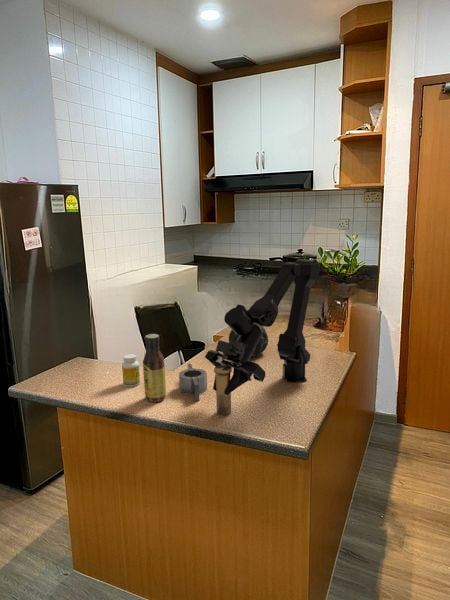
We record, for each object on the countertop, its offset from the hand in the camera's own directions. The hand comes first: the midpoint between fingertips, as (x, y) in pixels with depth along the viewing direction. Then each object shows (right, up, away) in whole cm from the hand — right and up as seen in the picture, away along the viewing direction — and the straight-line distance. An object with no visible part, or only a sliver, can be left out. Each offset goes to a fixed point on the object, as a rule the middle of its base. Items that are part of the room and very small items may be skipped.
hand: (219, 392), depth 120 cm
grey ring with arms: (-9, -3, +19) cm, 21 cm away
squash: (+11, +4, +51) cm, 53 cm away
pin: (+1, -6, +2) cm, 7 cm away
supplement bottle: (-29, -3, +24) cm, 38 cm away
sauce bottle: (-19, -5, +12) cm, 23 cm away
